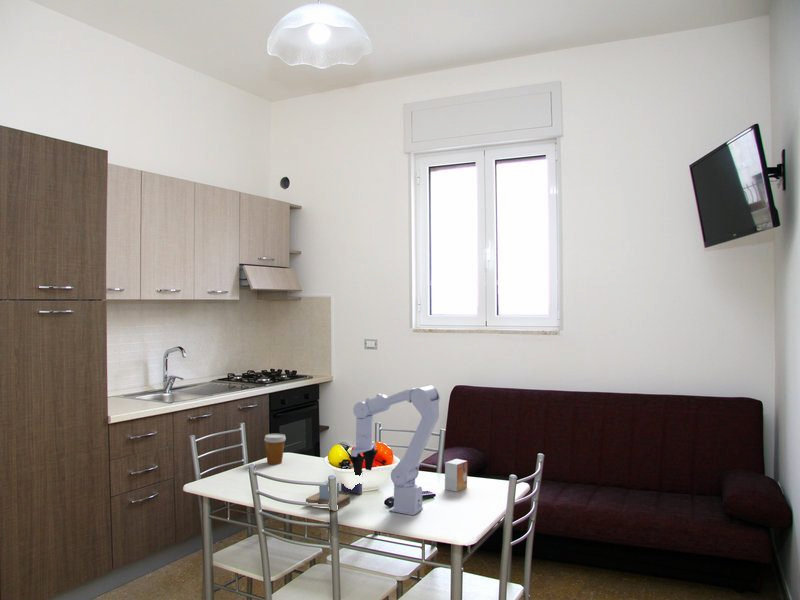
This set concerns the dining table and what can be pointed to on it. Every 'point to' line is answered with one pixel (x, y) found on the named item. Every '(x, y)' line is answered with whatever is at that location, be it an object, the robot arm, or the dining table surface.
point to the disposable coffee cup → (274, 448)
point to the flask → (355, 490)
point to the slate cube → (326, 491)
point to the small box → (456, 475)
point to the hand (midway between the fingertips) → (363, 472)
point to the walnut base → (341, 500)
